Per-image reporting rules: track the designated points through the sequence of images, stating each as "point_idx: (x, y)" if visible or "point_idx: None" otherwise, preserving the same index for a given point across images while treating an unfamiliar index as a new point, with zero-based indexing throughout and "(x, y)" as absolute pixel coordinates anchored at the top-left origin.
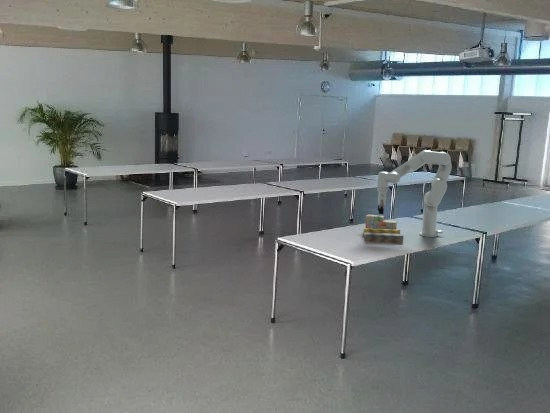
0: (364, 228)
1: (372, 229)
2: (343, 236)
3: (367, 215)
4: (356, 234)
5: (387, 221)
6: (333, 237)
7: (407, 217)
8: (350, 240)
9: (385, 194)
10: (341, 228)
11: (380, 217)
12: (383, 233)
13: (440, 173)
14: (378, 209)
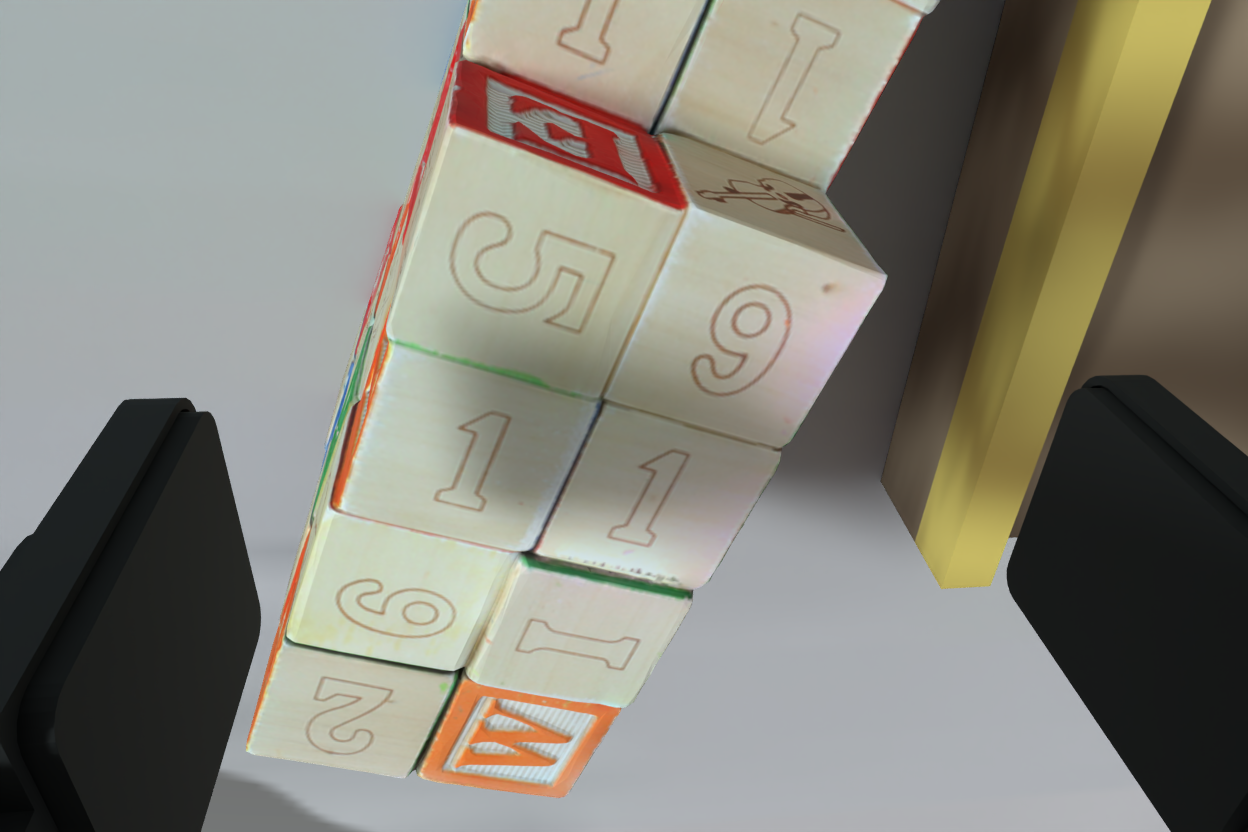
0: (959, 577)
1: (1047, 412)
2: (955, 732)
3: (465, 766)
4: (809, 586)
5: None
6: (1006, 817)
7: None
8: None
9: None
10: (344, 793)
11: (831, 361)
12: (1243, 99)
13: None
14: (225, 694)
